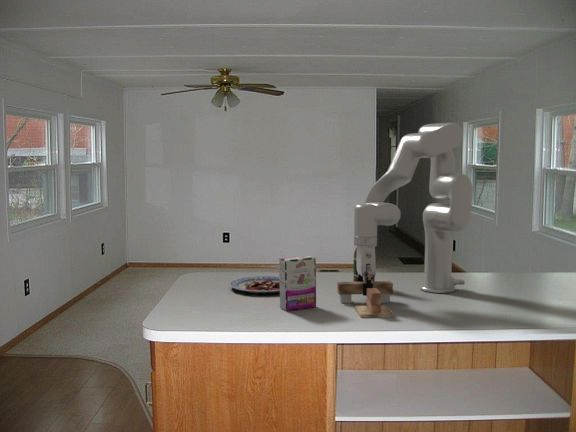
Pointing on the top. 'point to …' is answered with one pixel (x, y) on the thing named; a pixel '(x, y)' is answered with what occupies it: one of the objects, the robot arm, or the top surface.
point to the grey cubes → (348, 298)
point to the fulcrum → (373, 306)
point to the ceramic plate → (257, 284)
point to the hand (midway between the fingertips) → (364, 292)
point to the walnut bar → (357, 287)
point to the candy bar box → (297, 282)
